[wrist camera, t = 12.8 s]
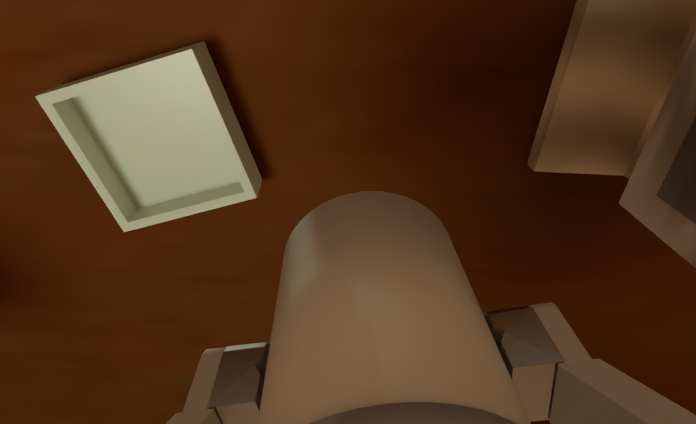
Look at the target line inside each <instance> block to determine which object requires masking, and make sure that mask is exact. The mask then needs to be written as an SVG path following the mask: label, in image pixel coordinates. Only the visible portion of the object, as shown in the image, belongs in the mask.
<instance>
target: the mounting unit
mask: <svg viewBox="0 0 696 424" xmlns="http://www.w3.org/2000/svg"><path fill="white" fill-rule="evenodd" d="M527 165H528V166H529V167H530V168H531V169H532V170H533V171H536V172H557V173H579V174H600V175H622V176H625V177H627V178H628V179H629V181H628V183H627V185H626V188H625V190H624V192H623V194H622V197H621V199H620V201H619V203H618V204H620V205H621V206H622V207H623V208H624V209H626V210H627V211H628V212H629V213H630V214H632V215H633V216H634V217H635V218H636V219H638V220H639V221H640V222H641V223H642V224H643V225H645V226H646V227H647V228H648V229H649V230H651V231H652V232H653V233H654V234H655V235H657V236H658V237H659V238H660V239H661V240H663V241H664V242H665V243H666V244H667V245H669V246H670V247H671V248H672V249H673V250H674V251H676V252H677V253H678V254H679V255H680V256H682V257H683V258H684V259H685V260H686V261H688V262H689V263H690V264H691V265H692V266H694V267H695V268H696V0H577V2H576V5H575V8H574V12H573V15H572V18H571V21H570V25H569V28H568V31H567V34H566V38H565V41H564V44H563V47H562V51H561V54H560V57H559V60H558V64H557V67H556V70H555V74H554V77H553V80H552V83H551V87H550V90H549V93H548V96H547V100H546V103H545V106H544V109H543V113H542V116H541V119H540V122H539V126H538V129H537V132H536V135H535V139H534V142H533V145H532V149H531V152H530V155H529V158H528V162H527Z"/></svg>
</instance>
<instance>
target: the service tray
mask: <svg viewBox="0 0 696 424" xmlns="http://www.w3.org/2000/svg"><path fill="white" fill-rule="evenodd" d="M35 97H36V99H37V100H38V102H39V103H40V105H41V106H42V108H43V109H44V111H45V112H46V114H47V115H48V117H49V119H50V120H51V122H52V123H53V125H54V126H55V128H56V129H57V131H58V132H59V134H60V135H61V137H62V138H63V140H64V141H65V143H66V144H67V146H68V147H69V149H70V151H71V152H72V154H73V155H74V157H75V158H76V160H77V161H78V163H79V164H80V166H81V167H82V169H83V170H84V172H85V173H86V175H87V176H88V178H89V179H90V181H91V182H92V184H93V186H94V187H95V189H96V190H97V192H98V193H99V195H100V196H101V198H102V199H103V201H104V202H105V204H106V205H107V207H108V208H109V210H110V211H111V213H112V214H113V216H114V218H115V219H116V221H117V222H118V224H119V225H120V227H121V228H122V230H123V231H124V232H127V231H131V230H134V229H138V228H142V227H146V226H150V225H154V224H157V223H161V222H165V221H169V220H173V219H177V218H181V217H184V216H188V215H192V214H196V213H200V212H204V211H208V210H211V209H215V208H219V207H223V206H227V205H231V204H234V203H238V202H242V201H246V200H250V199H254V198H257V196H258V193H259V190H260V186H261V183H262V178H261V175H260V173H259V171H258V168H257V166H256V163H255V161H254V159H253V156H252V154H251V151H250V149H249V147H248V144H247V142H246V140H245V137H244V135H243V132H242V130H241V128H240V125H239V123H238V120H237V118H236V116H235V113H234V111H233V108H232V106H231V104H230V101H229V99H228V97H227V94H226V92H225V89H224V87H223V85H222V82H221V80H220V77H219V75H218V73H217V70H216V68H215V66H214V63H213V61H212V58H211V56H210V54H209V51H208V49H207V46H206V44H205V42H204V41H203V42H199V43H196V44H193V45H190V46H186V47H183V48H180V49H176V50H173V51H170V52H167V53H163V54H160V55H157V56H154V57H150V58H147V59H144V60H140V61H137V62H134V63H131V64H127V65H124V66H121V67H117V68H114V69H111V70H108V71H104V72H101V73H98V74H95V75H91V76H88V77H85V78H81V79H78V80H75V81H72V82H68V83H65V84H62V85H59V86H57V87H55V88H53V89H50V90H48V91H46V92H44V93H41V94H39V95H37V96H35Z"/></svg>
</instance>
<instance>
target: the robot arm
mask: <svg viewBox="0 0 696 424" xmlns="http://www.w3.org/2000/svg"><path fill="white" fill-rule="evenodd" d="M484 317H485V320H486V322H487V324H488V326H489V329H490V331H491V333H492V336H493V338H494V340H495V342H496V345H497V347H498V349H499V352H500V354H501V356H502V358H503V361H504V363H505V365H506V368H507V370H508V372H509V374H510V377H511V379H512V381H513V384H514V386H515V388H516V390H517V393H518V395H519V397H520V400H521V402H522V404H523V406H524V409H525V411H526V413H527V416H528V418H529V420H530V422H532V421H543V420H549V422H550V423H551V424H696V415H694V414H693V413H691V412H689V411H688V410H686V409H684V408H683V407H681V406H679V405H677V404H676V403H674V402H672V401H671V400H669V399H667V398H666V397H664V396H662V395H660V394H659V393H657V392H655V391H654V390H652V389H650V388H649V387H647V386H645V385H643V384H642V383H640V382H638V381H637V380H635V379H633V378H631V377H630V376H628V375H626V374H625V373H623V372H621V371H620V370H618V369H616V368H614V367H613V366H611V365H609V364H608V363H606V362H604V361H603V360H601V359H591V357H590V356H589V354H588V353H587V351H586V350H585V348H584V347H583V345H582V344H581V342H580V341H579V339H578V338H577V336H576V335H575V333H574V332H573V330H572V329H571V327H570V326H569V324H568V323H567V321H566V320H565V318H564V317H563V315H562V314H561V312H560V311H559V309H558V308H557V306H556V305H555V304H553V303H552V302H550V303H543V304H537V305H530V306H522V307H515V308H509V309H502V310H495V311H488V312H485V314H484ZM269 347H270V343H268V342H265V343H256V344H247V345H238V346H229V347H223V348H214V349H206V350H205V351H204V353H203V354H202V355H201V358H200V361H199V364H198V367H197V370H196V373H195V376H194V379H193V382H192V385H191V388H190V391H189V394H188V397H187V400H186V403H185V406H184V409H183V412H181V413H176V414H175V415H174V416H173V417H172V418H171V419H170V420H169V421H168V422H167V423H166V424H257V423H258V417H259V410H260V404H261V398H262V391H263V385H264V379H265V372H266V366H267V360H268V353H269Z"/></svg>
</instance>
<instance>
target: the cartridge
mask: <svg viewBox="0 0 696 424" xmlns="http://www.w3.org/2000/svg"><path fill="white" fill-rule="evenodd" d="M257 424H531V422H530V420H529V418H528V416H527V413H526V411H525V409H524V406H523V404H522V402H521V400H520V397H519V395H518V393H517V390H516V388H515V386H514V384H513V381H512V379H511V377H510V374H509V372H508V370H507V368H506V365H505V363H504V361H503V358H502V356H501V354H500V352H499V349H498V347H497V345H496V342H495V340H494V338H493V336H492V333H491V331H490V329H489V326H488V324H487V322H486V320H485V317H484V315H483V313H482V310H481V308H480V306H479V304H478V301H477V299H476V297H475V294H474V292H473V290H472V288H471V285H470V283H469V281H468V278H467V276H466V274H465V272H464V269H463V267H462V265H461V262H460V260H459V258H458V256H457V253H456V251H455V249H454V246H453V244H452V242H451V240H450V237H449V235H448V233H447V231H446V229H445V227H444V226H443V224H442V223H441V221H440V220H439V219H438V218H437V217H436V215H435V214H434V213H433V212H431V211H430V210H429V209H428V208H426V207H425V206H423V205H422V204H420V203H418V202H417V201H415V200H412V199H410V198H408V197H405V196H402V195H398V194H395V193H388V192H381V191H365V192H356V193H351V194H346V195H343V196H340V197H336V198H334V199H331V200H329V201H327V202H325V203H323V204H321V205H320V206H318V207H317V208H315V209H313V210H312V211H311V212H310V213H308V214H307V215H306V216H305V217H304V218H303V219H302V220H301V221H300V222H299V223H298V224H297V226H296V227H295V229H294V230H293V232H292V233H291V235H290V237H289V239H288V241H287V245H286V248H285V252H284V258H283V264H282V271H281V277H280V283H279V290H278V296H277V302H276V309H275V315H274V322H273V328H272V334H271V341H270V347H269V353H268V360H267V366H266V372H265V379H264V385H263V391H262V398H261V404H260V410H259V417H258V423H257Z"/></svg>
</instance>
